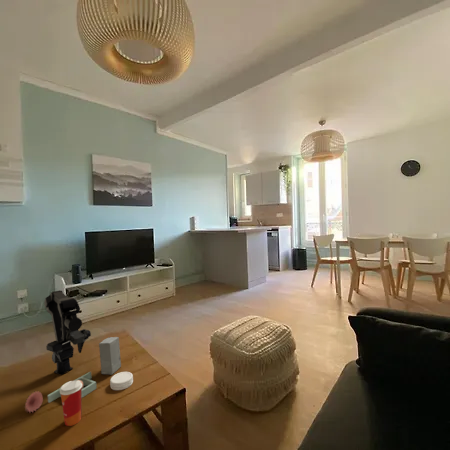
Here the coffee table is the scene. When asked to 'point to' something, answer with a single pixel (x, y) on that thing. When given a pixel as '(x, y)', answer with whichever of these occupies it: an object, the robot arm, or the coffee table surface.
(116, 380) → the coaster
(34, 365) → the coffee table surface
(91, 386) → the sage green shelf frame
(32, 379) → the coffee table surface
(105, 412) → the coffee table surface
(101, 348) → the skincare box
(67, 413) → the paper cup
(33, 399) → the flower
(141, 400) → the coffee table surface
